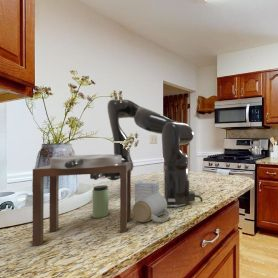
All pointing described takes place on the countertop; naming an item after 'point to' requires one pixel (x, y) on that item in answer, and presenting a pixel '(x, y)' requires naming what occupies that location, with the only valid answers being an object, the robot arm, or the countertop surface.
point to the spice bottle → (100, 201)
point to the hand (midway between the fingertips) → (108, 176)
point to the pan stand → (77, 167)
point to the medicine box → (145, 190)
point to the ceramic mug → (151, 208)
